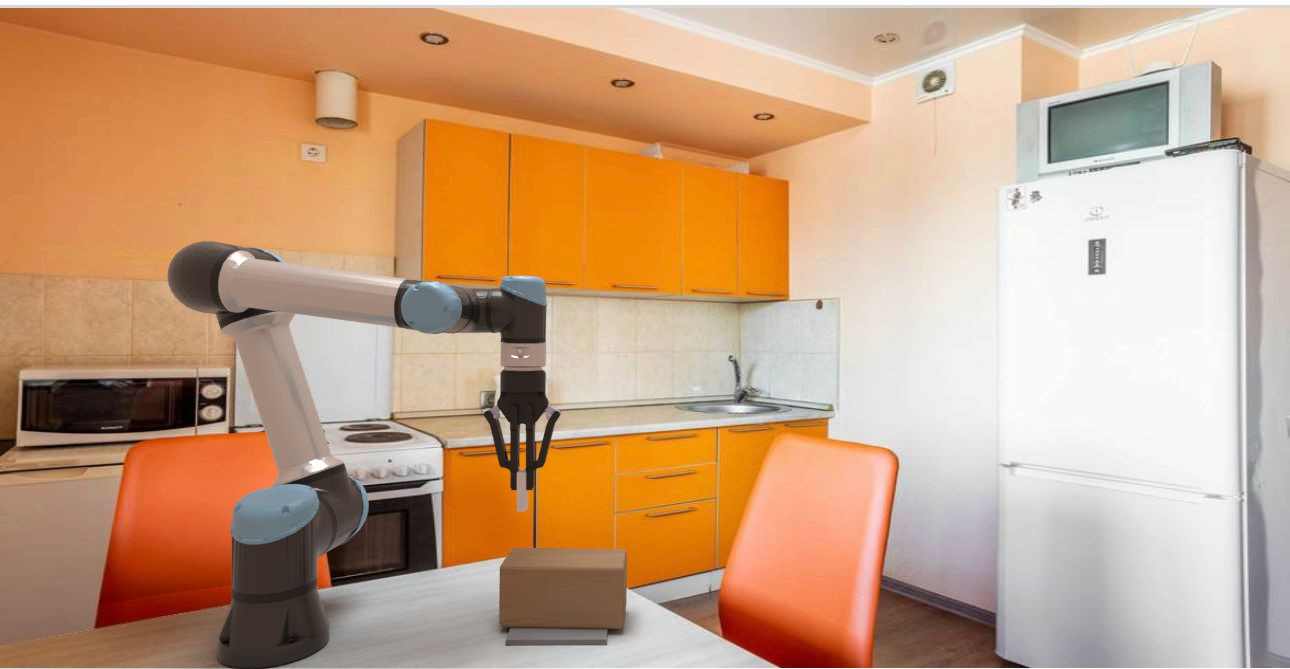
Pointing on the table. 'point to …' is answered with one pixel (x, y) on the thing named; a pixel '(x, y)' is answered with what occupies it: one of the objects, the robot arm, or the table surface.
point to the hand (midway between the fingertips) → (522, 509)
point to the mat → (556, 636)
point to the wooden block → (563, 588)
